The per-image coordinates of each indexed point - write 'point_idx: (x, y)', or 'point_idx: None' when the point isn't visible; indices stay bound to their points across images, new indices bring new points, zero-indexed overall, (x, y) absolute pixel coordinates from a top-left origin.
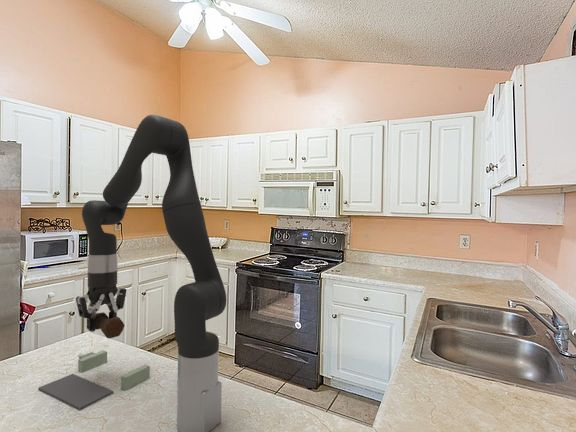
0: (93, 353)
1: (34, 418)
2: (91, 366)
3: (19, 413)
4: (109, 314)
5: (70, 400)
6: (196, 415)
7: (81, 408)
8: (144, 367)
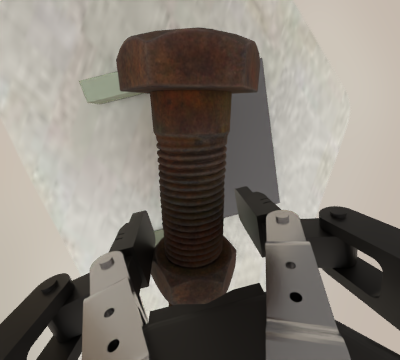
0: None
1: (318, 97)
2: None
3: (325, 136)
4: (148, 269)
5: (261, 106)
6: None
7: None
8: (95, 83)
